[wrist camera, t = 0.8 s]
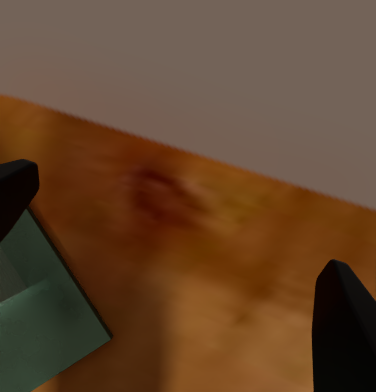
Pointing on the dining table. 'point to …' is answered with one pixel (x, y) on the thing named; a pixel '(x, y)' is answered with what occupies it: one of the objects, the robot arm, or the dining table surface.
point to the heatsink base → (41, 310)
